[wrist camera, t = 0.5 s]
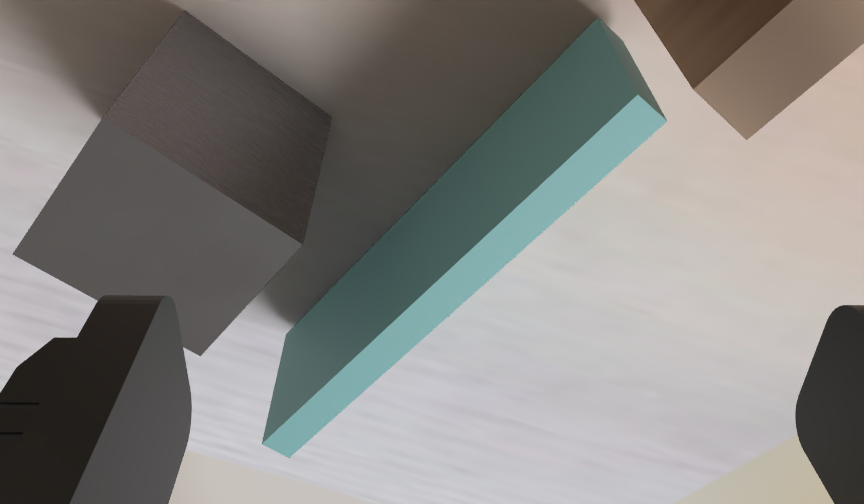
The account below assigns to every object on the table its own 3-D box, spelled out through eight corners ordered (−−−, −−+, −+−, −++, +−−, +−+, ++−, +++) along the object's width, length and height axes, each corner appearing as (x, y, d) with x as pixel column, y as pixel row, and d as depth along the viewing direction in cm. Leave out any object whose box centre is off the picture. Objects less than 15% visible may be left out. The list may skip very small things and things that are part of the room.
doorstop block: (185, 10, 26) (103, 117, 19) (331, 116, 28) (302, 244, 22) (108, 125, 28) (12, 254, 22) (248, 214, 31) (200, 356, 24)
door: (597, 17, 26) (637, 94, 21) (622, 40, 26) (667, 121, 21) (286, 334, 33) (261, 444, 29) (309, 347, 34) (289, 457, 29)
